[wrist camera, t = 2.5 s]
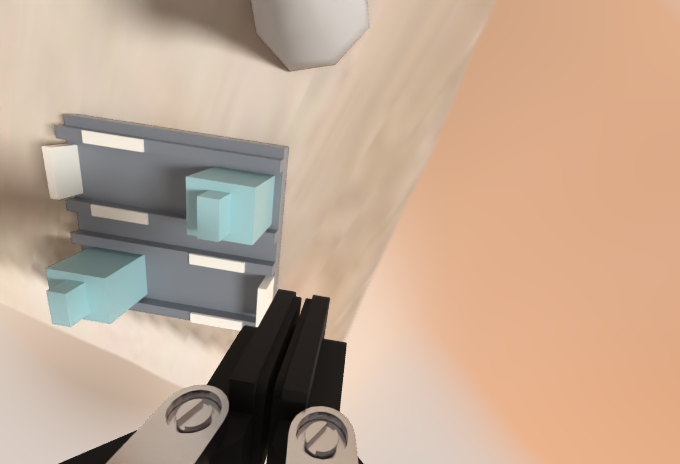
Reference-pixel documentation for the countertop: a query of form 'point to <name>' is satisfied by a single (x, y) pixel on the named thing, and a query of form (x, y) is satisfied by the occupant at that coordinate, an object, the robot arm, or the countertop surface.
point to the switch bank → (168, 214)
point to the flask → (310, 29)
